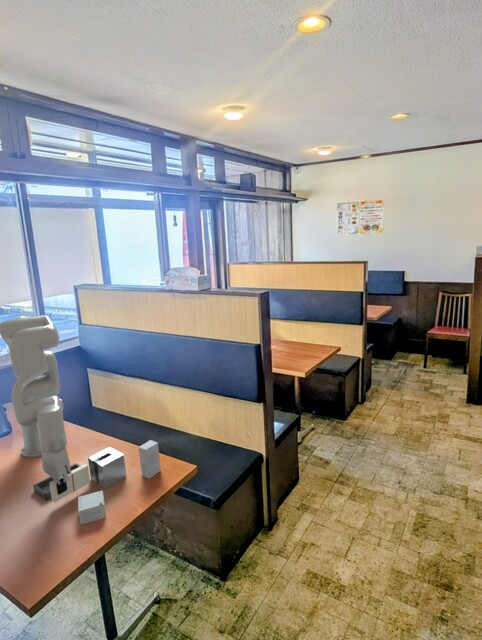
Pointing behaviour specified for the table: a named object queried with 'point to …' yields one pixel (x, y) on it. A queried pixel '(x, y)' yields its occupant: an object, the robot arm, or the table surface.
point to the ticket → (71, 482)
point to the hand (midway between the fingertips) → (61, 490)
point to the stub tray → (47, 485)
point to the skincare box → (149, 459)
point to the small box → (91, 507)
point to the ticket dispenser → (107, 467)
